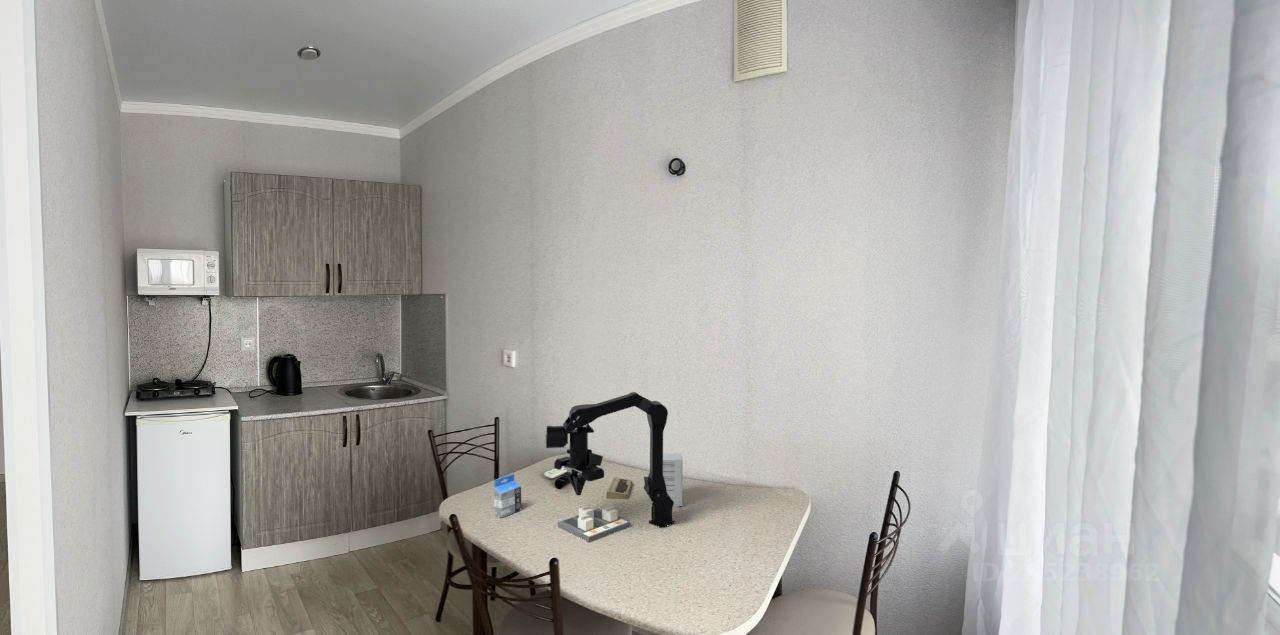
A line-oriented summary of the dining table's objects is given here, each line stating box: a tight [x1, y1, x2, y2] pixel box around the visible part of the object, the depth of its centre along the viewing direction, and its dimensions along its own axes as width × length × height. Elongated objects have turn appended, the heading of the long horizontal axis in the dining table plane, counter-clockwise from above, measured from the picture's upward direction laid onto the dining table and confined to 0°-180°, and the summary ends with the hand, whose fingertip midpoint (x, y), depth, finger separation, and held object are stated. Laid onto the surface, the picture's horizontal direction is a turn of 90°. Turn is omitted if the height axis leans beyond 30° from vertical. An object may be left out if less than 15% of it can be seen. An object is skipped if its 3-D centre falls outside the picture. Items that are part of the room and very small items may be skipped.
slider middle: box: [578, 504, 595, 519], centre depth 192 cm, size 4×3×4 cm
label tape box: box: [493, 473, 523, 519], centre depth 200 cm, size 9×4×12 cm, turn 143°
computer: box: [605, 477, 633, 500], centre depth 222 cm, size 16×8×3 cm, turn 175°
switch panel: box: [557, 508, 631, 543], centre depth 189 cm, size 16×17×2 cm
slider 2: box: [601, 506, 618, 522], centre depth 191 cm, size 4×3×4 cm
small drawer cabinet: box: [663, 452, 684, 507], centre depth 210 cm, size 10×9×17 cm
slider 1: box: [578, 514, 593, 531], centre depth 184 cm, size 4×3×4 cm
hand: (578, 495), depth 186 cm, fingers closed
